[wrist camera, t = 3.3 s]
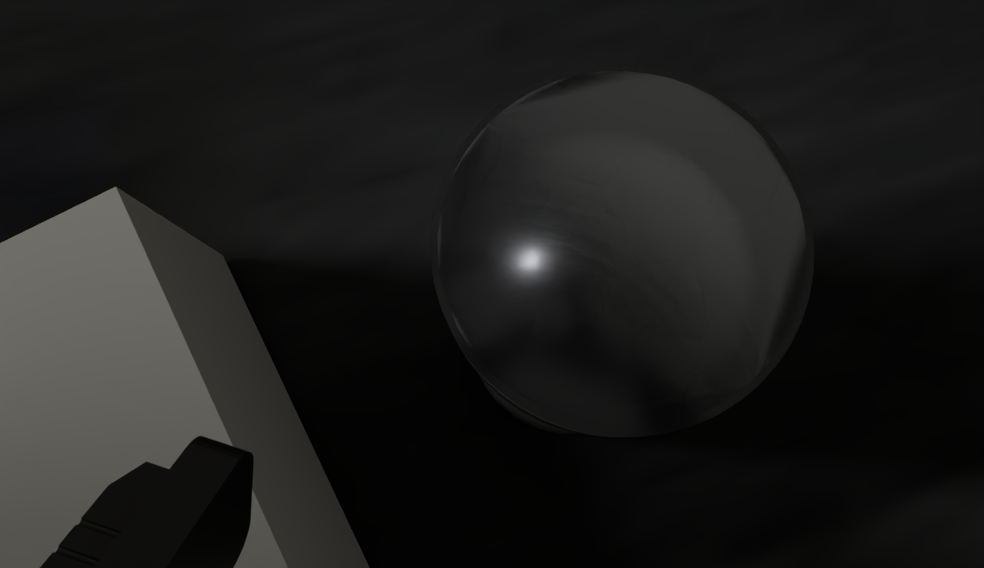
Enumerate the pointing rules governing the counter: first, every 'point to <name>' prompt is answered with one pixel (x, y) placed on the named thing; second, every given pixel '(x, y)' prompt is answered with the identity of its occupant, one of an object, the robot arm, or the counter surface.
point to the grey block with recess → (142, 384)
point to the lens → (621, 252)
